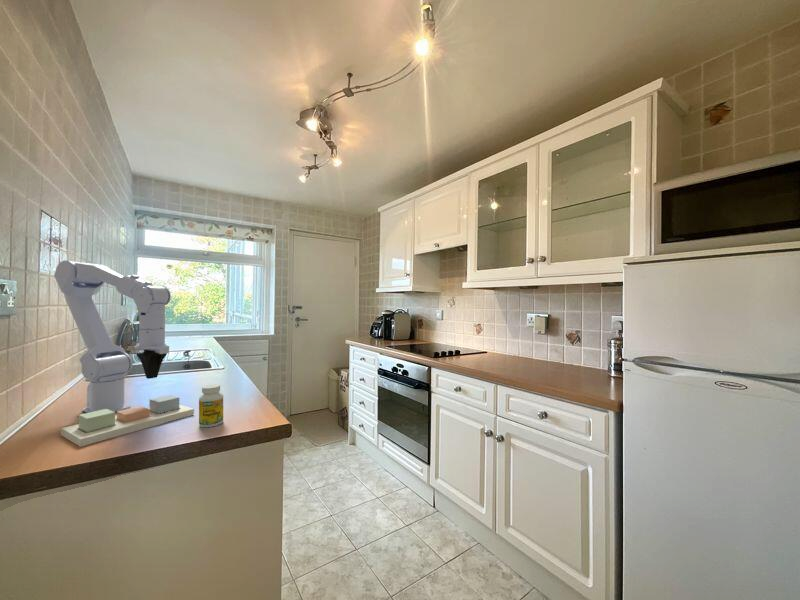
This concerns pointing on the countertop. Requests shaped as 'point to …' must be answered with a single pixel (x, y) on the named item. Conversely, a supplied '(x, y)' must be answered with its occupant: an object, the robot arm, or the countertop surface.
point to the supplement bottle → (210, 406)
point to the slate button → (164, 404)
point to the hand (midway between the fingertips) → (151, 377)
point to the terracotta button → (133, 414)
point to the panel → (122, 426)
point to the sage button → (96, 420)
